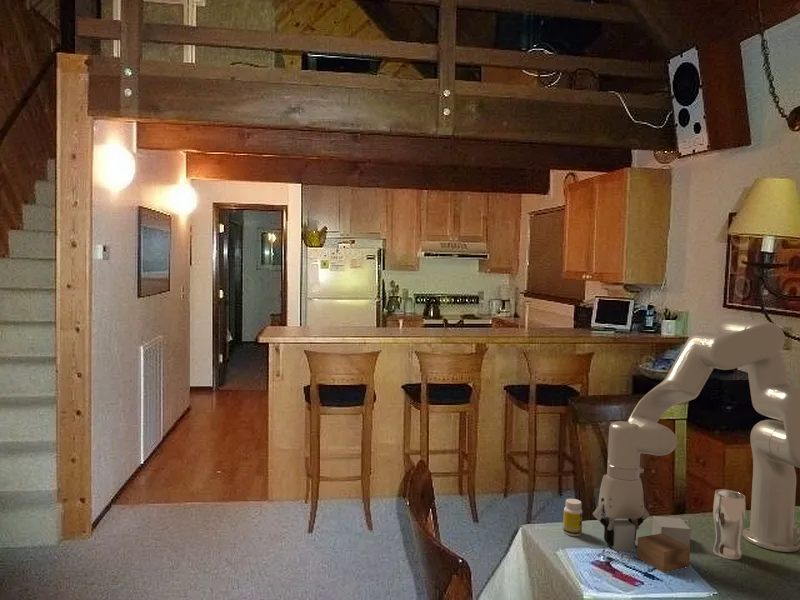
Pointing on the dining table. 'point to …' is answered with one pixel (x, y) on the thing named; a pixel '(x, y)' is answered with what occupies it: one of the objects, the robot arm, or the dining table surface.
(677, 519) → the grey block
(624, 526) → the painted block
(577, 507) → the supplement bottle
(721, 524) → the beer glass
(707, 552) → the dining table surface
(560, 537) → the dining table surface
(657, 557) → the walnut block
